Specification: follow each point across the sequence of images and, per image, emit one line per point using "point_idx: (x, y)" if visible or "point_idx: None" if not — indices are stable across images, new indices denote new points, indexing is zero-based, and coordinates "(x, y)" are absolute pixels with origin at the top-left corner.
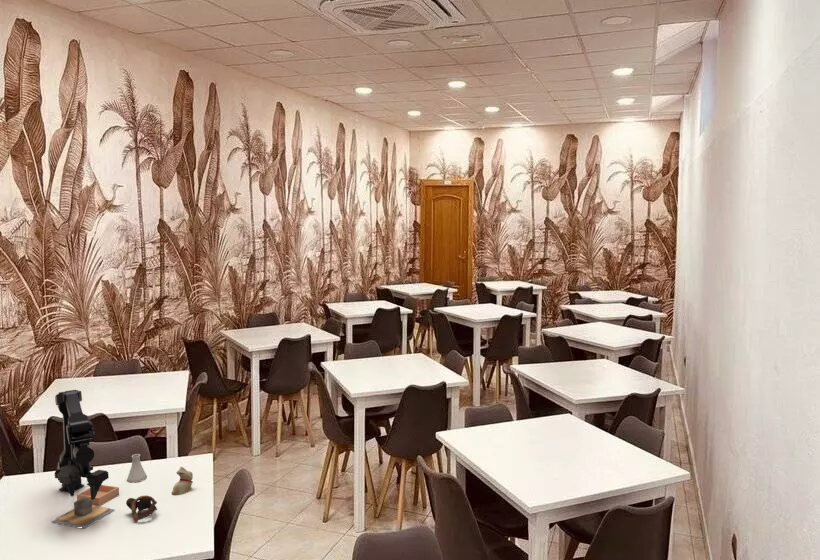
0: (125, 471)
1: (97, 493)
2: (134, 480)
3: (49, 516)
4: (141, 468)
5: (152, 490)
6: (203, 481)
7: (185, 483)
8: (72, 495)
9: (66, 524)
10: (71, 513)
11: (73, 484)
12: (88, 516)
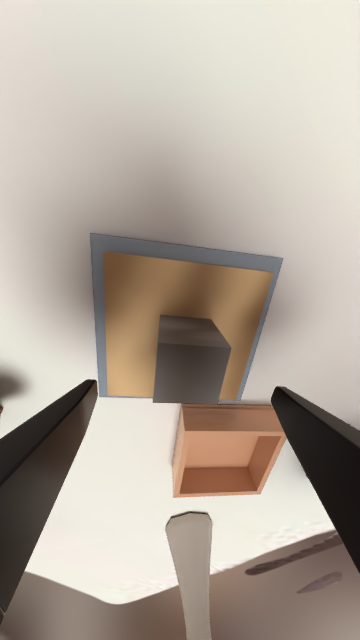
0: (243, 535)
1: (238, 456)
2: (182, 522)
3: (315, 305)
4: (178, 577)
5: (95, 501)
6: None
7: None
8: (277, 394)
9: (197, 247)
10: (232, 326)
11: (341, 498)
12: (137, 320)
